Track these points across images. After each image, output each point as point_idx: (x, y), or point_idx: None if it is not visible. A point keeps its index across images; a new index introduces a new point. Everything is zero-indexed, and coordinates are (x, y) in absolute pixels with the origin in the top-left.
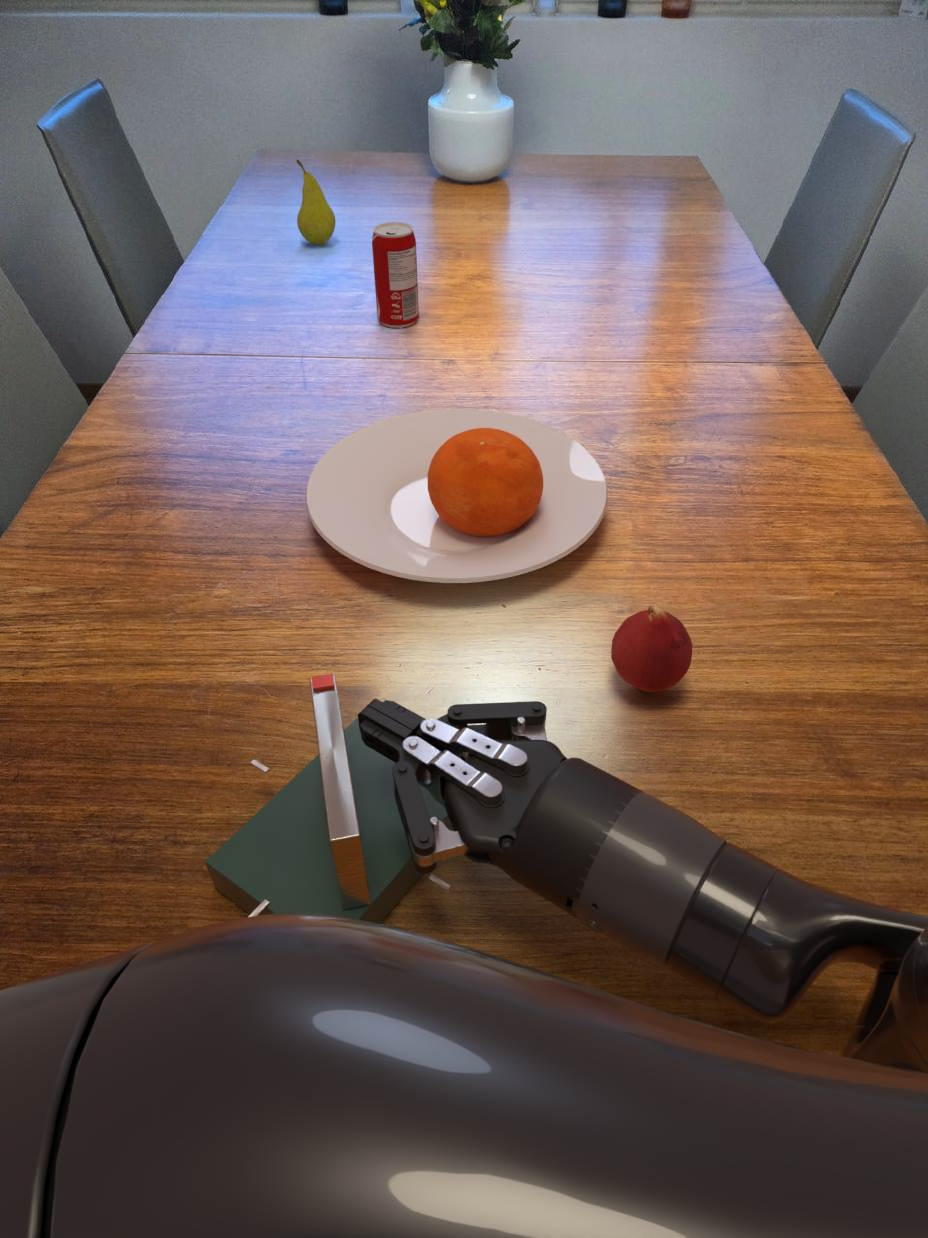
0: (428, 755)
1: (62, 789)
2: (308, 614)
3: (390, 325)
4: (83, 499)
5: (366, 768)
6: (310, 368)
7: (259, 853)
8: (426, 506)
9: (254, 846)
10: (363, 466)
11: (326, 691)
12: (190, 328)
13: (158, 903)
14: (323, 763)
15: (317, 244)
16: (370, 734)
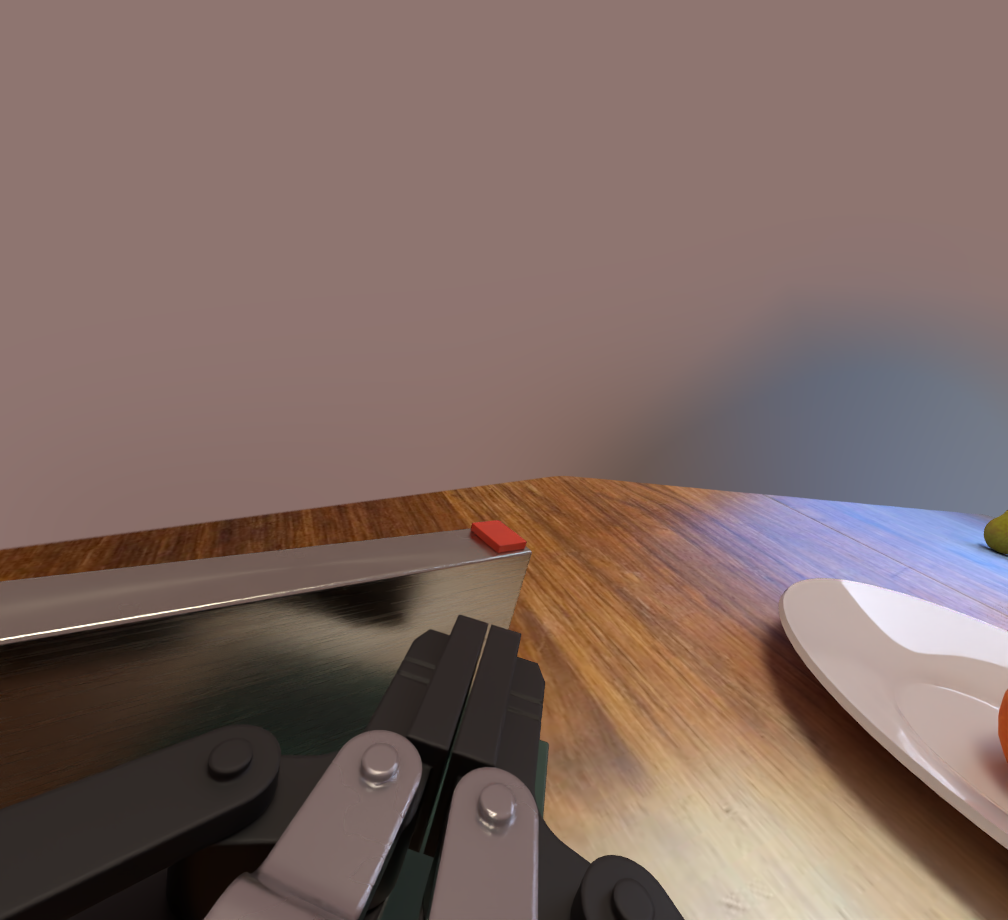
0: (323, 855)
1: (334, 530)
2: (681, 652)
3: None
4: (628, 494)
5: (434, 806)
6: (911, 575)
7: None
8: (979, 730)
9: None
10: (906, 627)
11: (479, 544)
12: (819, 510)
13: None
14: (250, 557)
15: (996, 550)
16: (406, 657)
